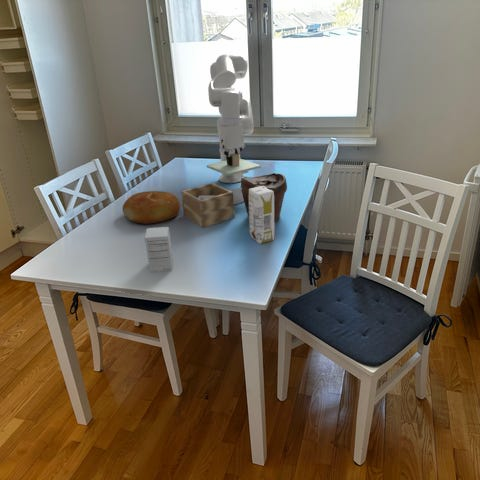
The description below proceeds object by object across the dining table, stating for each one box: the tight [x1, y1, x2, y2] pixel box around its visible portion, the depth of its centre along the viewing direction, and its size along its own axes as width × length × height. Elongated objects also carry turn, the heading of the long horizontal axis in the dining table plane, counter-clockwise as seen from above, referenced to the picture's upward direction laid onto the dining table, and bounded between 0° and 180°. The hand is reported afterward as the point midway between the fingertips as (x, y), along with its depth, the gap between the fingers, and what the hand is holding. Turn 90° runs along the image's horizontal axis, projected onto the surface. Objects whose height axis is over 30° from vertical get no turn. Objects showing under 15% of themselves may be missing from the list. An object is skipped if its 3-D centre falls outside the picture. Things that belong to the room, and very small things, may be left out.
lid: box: [206, 152, 262, 176], centre depth 193 cm, size 17×17×6 cm
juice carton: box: [248, 186, 275, 245], centre depth 158 cm, size 8×9×19 cm
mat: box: [229, 187, 245, 206], centre depth 201 cm, size 16×16×1 cm
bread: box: [121, 190, 181, 225], centre depth 184 cm, size 23×23×10 cm
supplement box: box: [144, 226, 174, 273], centre depth 144 cm, size 7×7×13 cm
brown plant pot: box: [239, 173, 288, 223], centre depth 175 cm, size 18×20×18 cm
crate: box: [180, 182, 235, 229], centre depth 180 cm, size 15×15×11 cm
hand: (233, 163), depth 194 cm, fingers closed on lid, 3 cm apart
